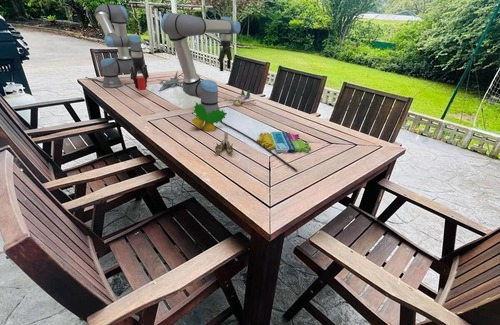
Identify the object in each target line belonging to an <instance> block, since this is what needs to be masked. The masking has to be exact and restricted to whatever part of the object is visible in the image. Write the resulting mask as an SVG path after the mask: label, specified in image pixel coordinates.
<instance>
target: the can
mask: <svg viewBox="0 0 500 325" xmlns="http://www.w3.org/2000/svg"><path fill="white" fill-rule="evenodd" d="M136 80H137V83H138V89H137V88H136V90H137V91H146V90H147V87H146V83H145V77H143V75H137V78H136Z"/></svg>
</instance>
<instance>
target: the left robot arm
mask: <svg viewBox="0 0 500 325" xmlns="http://www.w3.org/2000/svg"><path fill="white" fill-rule="evenodd" d="M94 17H95V19H96V21H97V22H98V23H99V25H100V27H101V30H102V31H103V34H104V38H103V39H104V44H105V47H107V48H117V53H118V56H117V57H116V58H117V59H116V58H115V57H107V58H103V59H102V60H100V65H101V70H102V75H103V81H101V80H99V79H97V78H92V80H94V81H97V82H99V83H101V84H102V86H103V87H104V88H111V89H112V88H120V87H122V86H123V83H122V82H121V80H120V78H119V74H130V80H133V84H134V88H135V89H136V90H137V89H138V83H137V80H136V78H137V76H138V72H139V71H140V72H141V76H143V77H145V83H146V88H148V84H147V83H148V78H150V76H149V72H148V65H147V64H145V63H144V59H143V51H142V44H141V41H142V40H141V37H140V35H139V34H129V35H127V30H126V29H127V28H126V26H127V24H128V22H129V14H128V11H127V9H126V7H125V6H124V5H120V4H109V3H102V4H100V5H98V6H97V7H96V8H95V10H94ZM129 48H130V50H129ZM130 55H131V56H130ZM85 79H88V80H91V78H90V77H87V76H85Z"/></svg>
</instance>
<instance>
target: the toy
mask: <svg viewBox="0 0 500 325" xmlns="http://www.w3.org/2000/svg"><path fill="white" fill-rule="evenodd" d="M240 92H241V93H240V95H238V96H237V97H235V99H233V98H230V99H228V98H227V97H226V96H225V97H224V98H223V101H224V102H233V103H232V104H233V105H235V106H242V103H243V104H247V105H252V106H255V105H256V104H257V103H256V102H254V101H253V100H252V101H251V102H250V101H248V100H246V99H248V98H250V97H251V90H250V89H249V90H248V91H247V92H246V93H245V91H244V89H242V90H241V91H240Z"/></svg>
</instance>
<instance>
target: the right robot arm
mask: <svg viewBox="0 0 500 325" xmlns="http://www.w3.org/2000/svg"><path fill="white" fill-rule="evenodd" d="M160 28H161V30H162V32H163V33H164V34H165V35H167V36H168V39H169V42H171V43H173V46H174V49H175V52H176V56H177V58H178V62H179V65H180V68H181V71H182V74H183V78H182V79H183V80H182V82H183V83H182V84H181V88H182V92H184V94H185V95H187V96H190V97H194V98H198V99H200V104H201V106H204V109H206V112H208V113H211V112H212V110H214V111H216V110H217V109H219V111H221V110H220V107H219V102H218V99H219V88H218V83H217V82H216V81H214V80H211V79H201V76H200V75H199V74H198V73H197V71H196V67H195V64H194V60H193V56H192V53H191V49H190V47H189V42H188V38H189V37H195V36H203V35H205V34H219V35H220V46H221V47H220V48H219V49H220V50H219V56H218V61H217V62H219V71H220V72H224V65H225V64H224V59H225V57H226V59H227V61H226V69H228V70H231V67H232V66H231V62H232V60H233V55H232V49H231V44H232V42H231V40H232V34H233V35H235V34H236V35H238V34H239V33H240V32H241V23H240V22H239V21H236V20H232V18H231V17H229V16H221V17H220V19H207V18H206V19H205V18H203V17H201V16H195V15H191V14H187V13H176V12H167V13H164V15H162V18H161V20H160ZM208 113H207V115H208ZM219 122H220V123H221V124H223V125H225V126H226V127H228V128H230V129H232V130H234V131H235V132H238V133H240V134H241V135H243V136H245V137H246V138H248V139H249V140H251V141H253V142H255V144H257V145H258V146H260V147H261V148H263V149H265V150H266V151H267V152H269V153H270V154H272V155H273V156H275V158H277V159H279V160H280V161H281V162H282V163H284V164H285V165H287V166H288V167H290V168H291V169H293V170H294V171H295V172H297V171H298V169H297V168H296V167H294V166H293V165H291V164H289V163H288V162H286V161H285V160H284V159H283V158H281V157H280V156H278V155H277V154H275V153H274V152H273V151H272V150H268V148H266V147H265V146H262V143H258V142H257V140H256V139H253V138H252V137H250V136H249V135H248V134H246V133H244V132H242V131H240V130H238V129H236V128H234V127H233V126H231V125H229V124H227V123H225V122H223V121H222V122H221V121H219Z"/></svg>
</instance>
